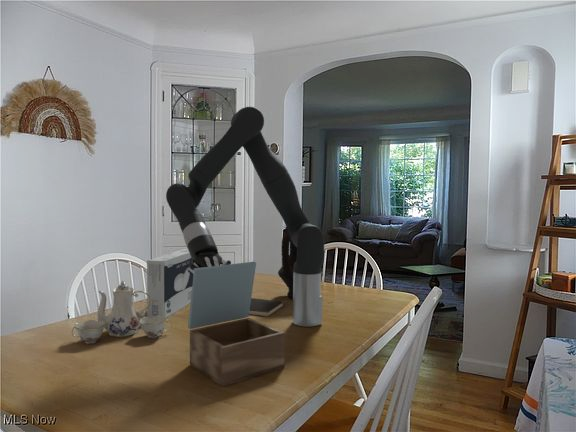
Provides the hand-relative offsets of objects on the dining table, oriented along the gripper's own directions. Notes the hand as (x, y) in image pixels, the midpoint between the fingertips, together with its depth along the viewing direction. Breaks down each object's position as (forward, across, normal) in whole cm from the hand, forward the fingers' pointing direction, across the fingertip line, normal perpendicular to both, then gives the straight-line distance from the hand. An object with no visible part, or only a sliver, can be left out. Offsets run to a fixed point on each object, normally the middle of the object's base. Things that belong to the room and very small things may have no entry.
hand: (221, 293), depth 120 cm
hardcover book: (-13, +34, +40) cm, 53 cm away
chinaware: (-10, -15, +36) cm, 40 cm away
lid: (+1, 0, -1) cm, 1 cm away
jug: (-15, +60, +40) cm, 73 cm away
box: (+18, 0, +6) cm, 19 cm away
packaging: (-25, +12, +51) cm, 57 cm away
